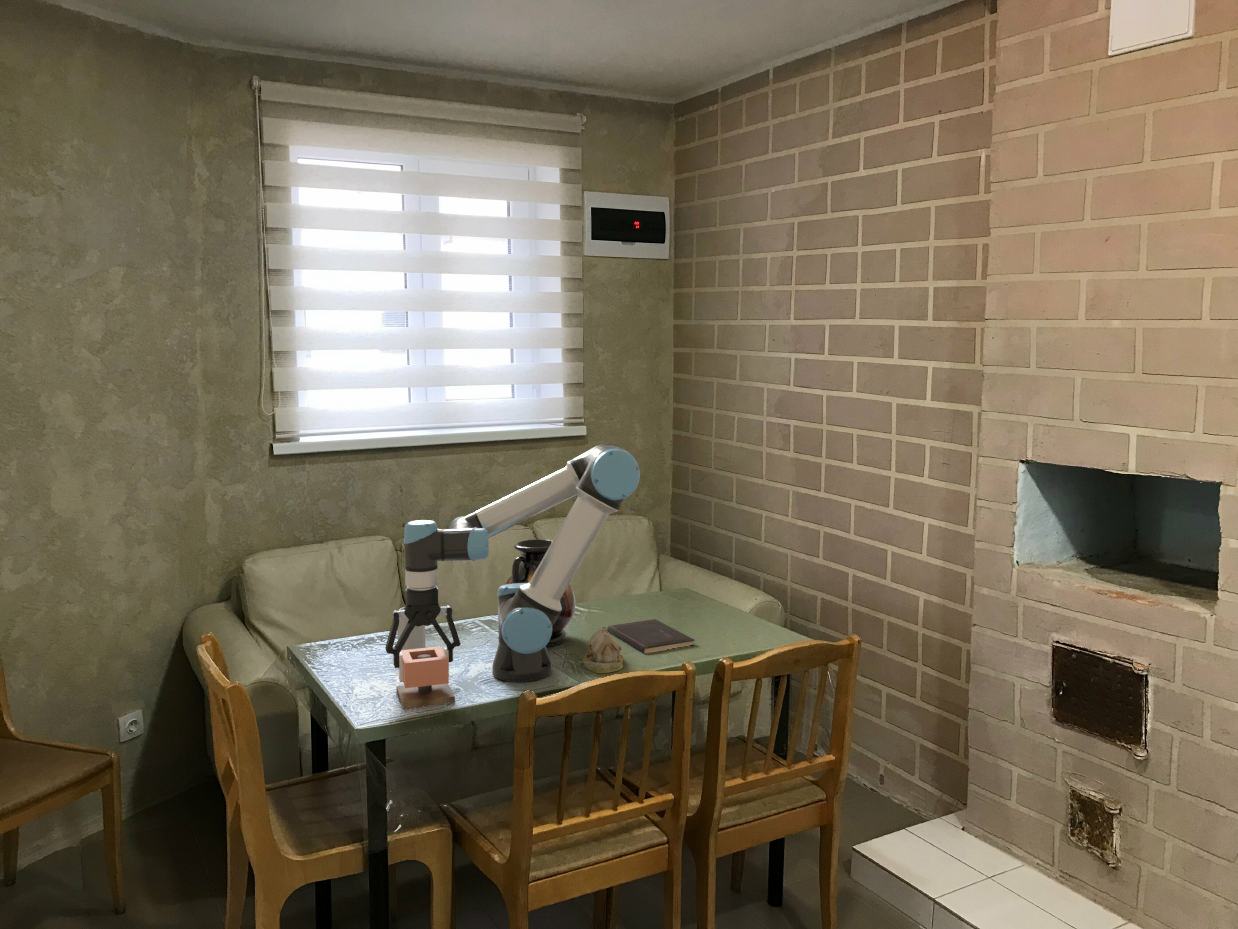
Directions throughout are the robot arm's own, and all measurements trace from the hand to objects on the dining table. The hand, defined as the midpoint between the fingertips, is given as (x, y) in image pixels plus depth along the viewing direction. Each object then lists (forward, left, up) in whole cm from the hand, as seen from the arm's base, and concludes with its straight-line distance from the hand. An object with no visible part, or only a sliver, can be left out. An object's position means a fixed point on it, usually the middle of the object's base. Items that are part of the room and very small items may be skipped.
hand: (423, 677), depth 231 cm
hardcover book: (-67, -24, -6) cm, 72 cm away
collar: (0, 0, 0) cm, 0 cm away
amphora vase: (-37, -34, -5) cm, 51 cm away
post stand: (0, 0, -5) cm, 5 cm away
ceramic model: (-48, -8, -5) cm, 49 cm away
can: (-2, -37, -5) cm, 37 cm away
